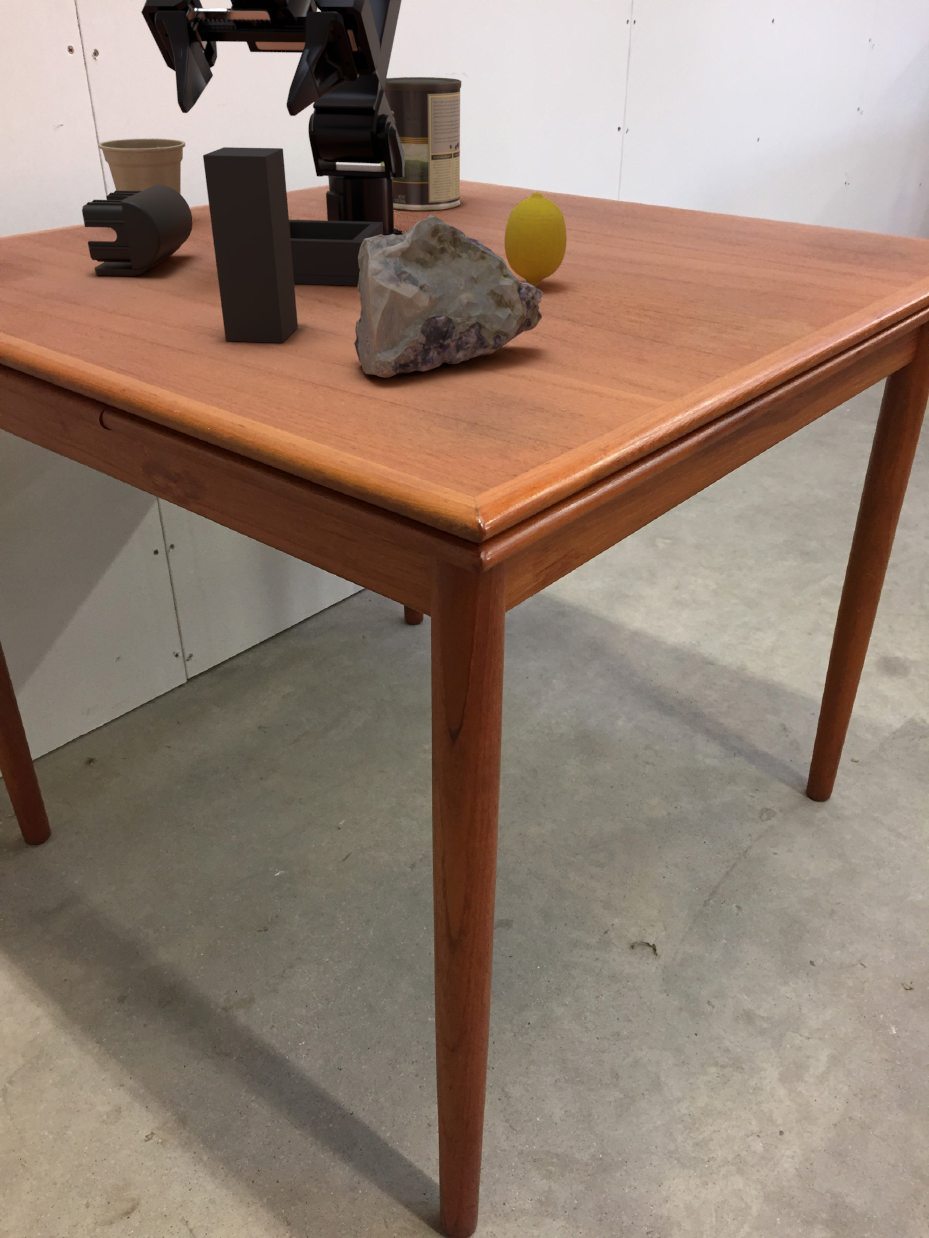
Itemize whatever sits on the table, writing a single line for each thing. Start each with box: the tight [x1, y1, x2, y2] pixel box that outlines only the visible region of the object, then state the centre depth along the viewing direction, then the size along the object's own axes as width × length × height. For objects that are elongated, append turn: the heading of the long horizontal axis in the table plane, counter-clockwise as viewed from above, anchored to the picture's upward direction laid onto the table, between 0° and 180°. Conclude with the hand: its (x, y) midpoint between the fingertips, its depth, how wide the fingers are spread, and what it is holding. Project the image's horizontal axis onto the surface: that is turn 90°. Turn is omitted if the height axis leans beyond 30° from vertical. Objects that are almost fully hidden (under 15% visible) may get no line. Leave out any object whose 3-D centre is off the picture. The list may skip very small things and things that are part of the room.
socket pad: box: [289, 219, 383, 287], centre depth 95 cm, size 10×10×4 cm
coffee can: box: [380, 76, 462, 212], centre depth 125 cm, size 10×10×14 cm
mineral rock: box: [353, 215, 544, 378], centre depth 69 cm, size 13×11×10 cm
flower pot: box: [97, 137, 186, 195], centre depth 114 cm, size 9×9×9 cm
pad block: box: [202, 146, 299, 344], centre depth 75 cm, size 4×4×13 cm
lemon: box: [503, 191, 568, 287], centre depth 90 cm, size 6×6×8 cm
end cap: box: [81, 184, 194, 277], centre depth 97 cm, size 10×7×7 cm
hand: (235, 110), depth 79 cm, fingers open, 9 cm apart
